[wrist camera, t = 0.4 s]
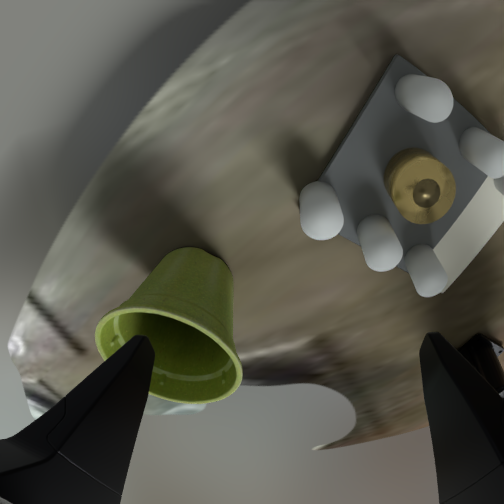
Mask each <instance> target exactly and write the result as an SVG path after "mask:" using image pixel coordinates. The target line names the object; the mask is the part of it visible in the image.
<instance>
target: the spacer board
mask: <svg viewBox="0 0 504 504" xmlns="http://www.w3.org/2000/svg"><path fill="white" fill-rule="evenodd" d="M407 148H420V149H423V150H425V151H427V152H429V153H430V154H431V155H433V156H434V157H435V158H436V159H438V160H439V161H440V162H441V163H443V164H444V165H445V166H446V167H447V168H448V169H449V170H450V171H451V173H452V175H453V177H454V179H455V184H456V193H455V198H454V201H453V204H452V206H451V207H450V209H449V210H448V212H447V213H446V214H445V215H444V216H443V217H441V218H440V219H438V220H437V221H434V222H432V223H429V224H416V223H412V222H410V221H408V220H407V219H405V218H404V217H403V216H402V215H401V214H400V212H399V211H398V209H397V207H396V206H395V204H394V203H393V201H392V200H391V198H390V196H389V195H388V193H387V191H386V189H385V185H384V172H385V169H386V166H387V164H388V162H389V161H390V160H391V158H392V157H393V156H394V155H395V154H397V153H398V152H400V151H401V150H404V149H407ZM299 202H300V221H301V227H302V229H303V231H304V232H305V233H306V235H308V236H309V237H311V238H313V239H316V240H327V239H330V238H332V237H334V236H336V235H337V234H339V235H341V236H343V237H345V238H346V239H348V240H350V241H352V242H354V243H356V244H357V245H359V246H361V248H362V251H363V254H364V257H365V260H366V263H367V265H368V266H369V267H370V268H371V269H373V270H375V271H380V272H382V271H388V270H390V269H392V268H394V267H395V266H397V267H399V268H400V269H402V270H404V271H406V272H407V273H409V274H410V276H411V279H412V281H413V283H414V286H415V288H416V290H417V293H418V294H419V295H421V296H423V297H432V296H435V295H437V294H438V293H440V292H441V293H444V292H445V291H446V290H447V288H448V287H449V286H450V285H451V284H452V283H453V282H454V281H455V280H456V279H457V277H458V276H459V275H460V274H461V273H462V272H463V271H464V269H465V268H466V267H467V266H468V265H469V264H470V262H471V261H472V260H473V259H474V258H475V257H476V255H477V254H478V253H479V252H480V250H481V249H482V248H483V247H484V246H485V244H486V243H487V242H488V241H489V239H490V238H491V237H492V235H493V234H494V233H495V232H496V230H497V229H498V228H499V226H500V225H501V224H502V222H503V221H504V141H502V140H501V139H499V138H497V137H495V136H493V135H491V134H490V133H489V131H488V130H487V129H486V128H485V127H484V126H483V125H482V124H481V123H480V122H479V121H478V120H477V119H476V118H475V117H473V116H472V115H471V114H470V113H469V112H468V111H467V110H466V109H465V108H464V107H463V106H462V105H461V104H460V103H458V102H457V101H456V100H455V99H454V98H453V96H452V92H451V90H450V89H449V87H448V86H447V85H446V84H445V83H444V82H443V81H441V80H440V79H437V78H432V77H428V76H426V75H425V74H424V73H423V72H421V71H420V70H419V69H417V68H416V67H415V66H413V65H412V64H411V63H409V62H408V61H407V60H405V59H404V58H402V57H401V56H400V55H395V56H394V58H393V59H392V61H391V63H390V64H389V66H388V68H387V69H386V71H385V73H384V74H383V76H382V77H381V79H380V81H379V82H378V84H377V86H376V87H375V89H374V91H373V92H372V94H371V96H370V97H369V99H368V101H367V102H366V104H365V105H364V107H363V109H362V110H361V112H360V114H359V115H358V117H357V119H356V120H355V122H354V123H353V125H352V127H351V128H350V130H349V132H348V133H347V135H346V136H345V138H344V140H343V141H342V143H341V144H340V146H339V148H338V149H337V151H336V153H335V154H334V156H333V157H332V159H331V161H330V162H329V164H328V165H327V167H326V169H325V170H324V172H323V173H322V175H321V177H320V178H319V180H318V181H316V182H312V183H309V184H308V185H306V186H305V187H304V188H303V189H302V191H301V193H300V197H299Z"/></svg>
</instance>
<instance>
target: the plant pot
mask: <svg viewBox="0 0 504 504" xmlns="http://www.w3.org/2000/svg"><path fill="white" fill-rule="evenodd" d="M135 335H146V336H147V337H148V338H149V340H150V342H151V344H152V346H153V349H154V351H155V361H154V366H153V372H152V377H151V383H150V389H149V394H150V395H153V396H156V397H159V398H162V399H166V400H170V401H174V402H179V403H187V404H203V403H209V402H215V401H218V400H222V399H224V398H226V397H228V396H229V395H231V394H232V393H234V392H235V391H236V389H237V388H238V387H239V385H240V383H241V381H242V365H241V361H240V359H239V357H238V355H237V353H236V349H235V344H234V342H233V277H232V274H231V272H230V270H229V268H228V267H227V265H226V264H225V263H224V262H223V261H222V260H221V259H220V258H217V257H214V256H212V255H210V254H209V253H207V252H205V251H204V250H202V249H199V248H193V247H185V248H180V249H176V250H174V251H172V252H170V253H168V254H167V255H166V256H165V257H164V258H163V259H162V260H161V262H160V263H159V264H158V265H157V266H156V267H155V269H154V270H153V271H152V272H151V273H150V275H149V276H148V277H147V278H146V279H145V281H144V282H143V283H142V284H141V285H140V286H139V288H138V289H137V290H136V291H135V293H134V294H133V295H132V296H131V297H130V299H129V300H127V301H125V302H124V303H122V304H121V305H120V306H119V307H117V308H115V309H113V310H111V311H109V312H108V313H107V314H105V315H104V316H103V317H102V318H101V320H100V321H99V323H98V325H97V327H96V331H95V341H96V345H97V348H98V350H99V353H100V354H101V356H102V358H103V359H104V361H106V360H107V359H108V358H109V357H110V356H111V355H112V354H114V353H115V352H116V351H117V350H118V349H119V348H120V347H122V346H123V345H124V344H125V343H126V342H127V341H129V340H130V339H131V338H132V337H133V336H135Z"/></svg>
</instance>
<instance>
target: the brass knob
mask: <svg viewBox="0 0 504 504" xmlns="http://www.w3.org/2000/svg"><path fill="white" fill-rule="evenodd" d="M384 185H385V189H386V191H387V193H388V195H389V196H390V198H391V200H392V201H393V203H394V204H395V206H396V207H397V209H398V211H399V212H400V214H401V215H402V216H403V217H404V218H405V219H407V220H408V221H410V222H412V223H416V224H429V223H432V222H434V221H437V220H438V219H440V218H441V217H443V216H444V215H445V214H446V213H447V212H448V210H449V209H450V207H451V206H452V204H453V201H454V198H455V193H456V184H455V179H454V177H453V175H452V173H451V171H450V170H449V169H448V168H447V167H446V166H445V165H444V164H443V163H441V162H440V161H439V160H438V159H436V158H435V157H434V156H433V155H431V154H430V153H429V152H427V151H425V150H423V149H420V148H407V149H404V150H401V151H400V152H398V153H397V154H395V155H394V156H393V157H392V158H391V160H390V161H389V162H388V164H387V166H386V169H385V172H384Z"/></svg>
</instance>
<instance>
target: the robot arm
mask: <svg viewBox="0 0 504 504" xmlns="http://www.w3.org/2000/svg"><path fill="white" fill-rule="evenodd" d="M503 351H504V348H503V346H501V345H499V344H497V343H496V342H494V341H492V340H491V339H489V338H487V337H485V336H484V335H482V334H477V335H475V336H474V337H473V338H472V339H471V340H470V341H469V342H468V343H467V344H466V345H464V346H463V347H462V348H461V349H460V350H459V351H457V350H456V349H455V348H454V347H453V346H452V345H451V344H450V343H449V342H448V341H447V340H446V339H445V338H444V337H443V336H442V335H441V334H440V333H439V332H429V333H427V334H426V335H425V338H424V340H423V343H422V345H421V348H420V353H419V356H420V364H421V373H422V382H423V392H424V399H425V405H426V410H427V415H428V421H429V426H430V432H431V438H432V444H433V451H434V457H435V465H436V473H437V483H438V493H439V503H440V504H504V371H503V369H502V367H501V364H500V362H499V360H498V356H499V355H500V354H501V353H502V352H503ZM154 361H155V351H154V349H153V346H152V344H151V342H150V340H149V338H148V337H147V336H146V335H135V336H133V337H132V338H131V339H130V340H129V341H127V342H126V343H125V344H124V345H123V346H122V347H120V348H119V349H118V350H117V351H116V352H115V353H114V354H112V355H111V356H110V357H109V358H108V359H107V360H106V361H104V362H103V363H102V364H101V365H100V366H99V367H98V368H96V369H95V370H94V371H93V372H92V373H91V374H90V375H88V376H87V377H86V378H85V379H84V380H83V381H82V382H80V383H79V384H78V385H77V386H76V387H75V388H74V389H73V390H71V391H70V392H69V393H68V394H67V395H66V397H63V398H62V399H61V400H60V401H59V402H58V403H57V404H55V405H54V406H53V407H52V408H51V409H49V410H48V411H47V412H46V413H44V414H43V415H42V416H40V417H39V418H38V419H36V420H35V421H34V422H32V423H31V424H30V425H28V426H27V427H25V428H24V429H23V430H21V431H20V432H19V433H17V434H16V435H14V436H12V437H9V438H7V439H1V440H0V504H120V501H121V497H122V496H121V495H122V492H123V488H124V484H125V479H126V476H127V472H128V468H129V464H130V460H131V456H132V452H133V449H134V445H135V441H136V437H137V433H138V430H139V426H140V423H141V419H142V416H143V412H144V409H145V405H146V402H147V398H148V394H149V389H150V383H151V377H152V372H153V366H154Z"/></svg>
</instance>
